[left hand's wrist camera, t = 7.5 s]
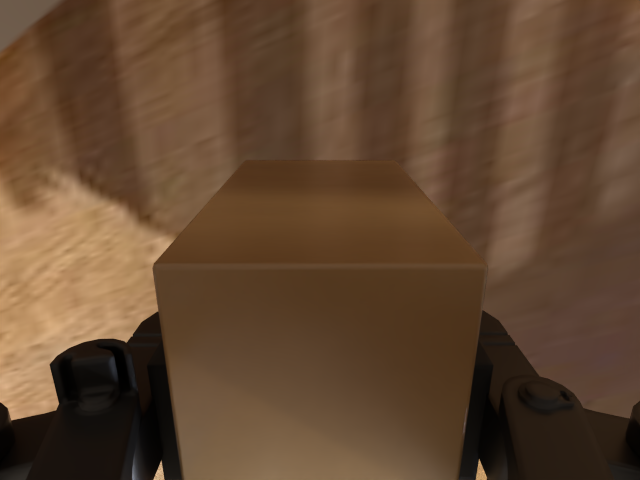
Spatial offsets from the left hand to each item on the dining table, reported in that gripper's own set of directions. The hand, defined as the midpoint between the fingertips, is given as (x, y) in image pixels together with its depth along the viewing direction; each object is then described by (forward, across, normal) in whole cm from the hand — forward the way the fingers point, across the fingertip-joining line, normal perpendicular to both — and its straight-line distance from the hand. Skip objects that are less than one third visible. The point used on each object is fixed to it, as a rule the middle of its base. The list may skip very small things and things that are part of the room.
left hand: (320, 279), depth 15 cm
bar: (+1, 0, -8) cm, 8 cm away
